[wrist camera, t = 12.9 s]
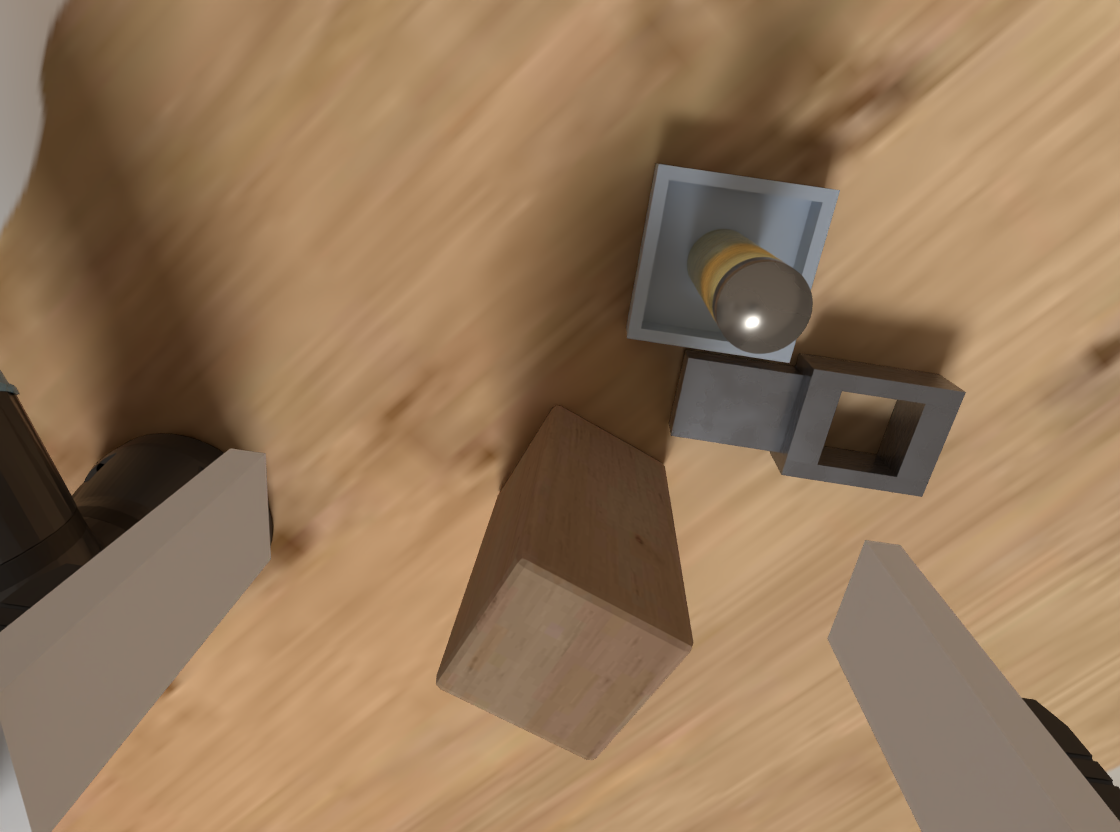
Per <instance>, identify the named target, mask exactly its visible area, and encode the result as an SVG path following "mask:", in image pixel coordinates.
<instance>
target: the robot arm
mask: <svg viewBox="0 0 1120 832" xmlns="http://www.w3.org/2000/svg"><path fill="white" fill-rule="evenodd" d="M18 394H19V392H18V390H17V388H16V387H15V386H14V385H12V384H9V383H8V381H7V380H6V378H5V377H4V375H3V373H2V372H1V370H0V832H51V831H52V830H53V829H54V828H55V826H56V825H57V824H58V823H59V822H60V820H61V819H62V818H63V817H64V815H65V814H66V813H67V812H68V810H69V809H70V808H71V807H72V805H73V804H74V803H75V802H76V800H77V799H78V798H79V797H80V795H81V794H82V793H83V792H84V790H85V789H86V788H87V787H88V785H89V784H90V783H91V782H92V781H93V779H94V778H95V777H96V776H97V774H98V773H99V772H100V771H101V769H102V768H103V767H104V766H105V764H106V763H107V762H108V761H109V759H110V758H111V757H112V756H113V754H114V753H115V752H116V751H117V749H118V748H119V747H120V746H121V745H122V743H123V742H124V741H125V740H126V738H127V737H128V736H129V735H130V733H131V732H132V731H133V730H134V728H135V727H136V726H137V725H138V723H139V722H140V721H141V720H142V718H143V717H144V716H145V715H146V713H147V712H148V711H149V710H150V708H151V707H152V706H153V705H154V704H155V702H156V701H157V700H158V699H159V697H160V696H161V695H162V694H163V692H164V691H165V690H166V689H167V687H168V686H169V685H170V684H171V682H172V681H173V680H174V679H175V677H176V676H177V675H178V674H179V672H180V671H181V670H182V669H183V668H184V666H185V665H186V664H187V663H188V661H189V660H190V659H191V658H192V656H193V655H194V654H195V653H196V651H197V650H198V649H199V648H200V646H201V645H202V644H203V643H204V641H205V640H206V639H207V638H208V636H209V635H210V634H211V633H212V631H213V630H214V629H215V628H216V627H217V625H218V624H219V623H220V622H221V620H222V619H223V618H224V617H225V615H226V614H227V613H228V612H229V610H230V609H231V608H232V607H233V605H234V604H235V603H236V602H237V600H238V599H239V598H240V597H241V595H242V594H243V593H244V592H245V591H246V589H247V588H248V587H249V586H250V584H251V583H252V582H253V581H254V579H255V578H256V577H257V576H258V574H259V573H260V572H261V571H262V569H263V568H264V567H265V566H266V564H267V563H268V562H269V561H270V559H271V553H270V545H271V541H272V520H271V515H270V511H269V508H268V493H267V472H266V453H259V452H252V451H245V450H238V449H231V448H230V449H229V450H228V451H226V452H225V453H223V452H221V451H220V450H218V449H216V448H214V447H212V446H211V445H208V444H206V443H204V442H201V441H199V440H196V439H193V438H190V437H186V436H181V435H175V434H151V435H145V436H141V437H138V438H135V439H133V440H131V441H129V442H127V443H125V444H124V445H122V446H120V447H119V448H117V449H115V450H114V451H112V452H110V453H109V454H107V455H106V456H104V457H103V458H102V459H101V460H100V461H99V462H97V464H96V465H95V466H94V467H93V468H92V470H91V471H90V472H89V474H88V475H87V477H86V479H85V481H84V483H83V484H82V485H81V486H80V487H79V488H78V489H77V490H76V491H75V493H74V494H73V495H72V496H71V494H70V492H69V490H68V488H67V486H66V485H65V483H64V481H63V479H62V477H61V476H60V474H59V472H58V470H57V468H56V466H55V465H54V463H53V461H52V459H51V457H50V455H49V454H48V452H47V450H46V448H45V446H44V444H43V443H42V441H41V439H40V437H39V435H38V434H37V432H36V430H35V428H34V426H33V424H32V423H31V421H30V419H29V417H28V415H27V413H26V412H25V410H24V408H23V406H22V404H21V402H20V401H19V399H18V397H17V395H18ZM828 641H829V643H830V645H831V647H832V649H833V651H834V653H835V655H836V657H837V659H838V661H839V664H840V666H841V668H842V670H843V672H844V674H845V676H846V678H847V680H848V682H849V684H850V686H851V688H852V690H853V692H854V694H855V696H856V698H857V700H858V702H859V704H860V707H861V709H862V711H863V713H864V715H865V717H866V719H867V721H868V723H869V725H870V727H871V729H872V731H873V733H874V735H875V737H876V739H877V741H878V743H879V745H880V747H881V750H882V752H883V754H884V756H885V758H886V760H887V762H888V764H889V766H890V768H891V770H892V772H893V774H894V776H895V778H896V780H897V782H898V784H899V786H900V788H901V791H902V793H903V795H904V797H905V799H906V801H907V803H908V805H909V807H910V809H911V811H912V813H913V815H914V817H915V819H916V821H917V823H918V825H919V827H920V829H921V831H922V832H1120V789H1119V787H1117V786H1114V785H1113V783H1112V781H1113V780H1112V779H1111V778H1110V776H1109V775H1108V774H1107V773H1106V772H1105V770H1104V769H1103V768H1102V767H1101V766H1100V764H1099V763H1098V762H1096V761H1093V760H1092V755H1091V754H1090V752H1089V751H1088V750H1087V749H1086V748H1085V746H1084V745H1083V744H1082V743H1081V742H1080V740H1079V739H1078V738H1077V737H1076V736H1075V735H1074V733H1073V732H1072V731H1071V730H1070V729H1069V727H1068V726H1067V725H1065V724H1064V723H1063V722H1062V721H1060V720H1059V719H1058V718H1057V717H1056V716H1054V715H1053V714H1052V713H1051V712H1049V711H1048V710H1047V709H1046V708H1045V707H1043V706H1042V705H1041V704H1040V703H1038V702H1037V701H1036V700H1033V699H1026V698H1021V697H1020V695H1019V694H1018V693H1017V692H1016V690H1015V689H1014V688H1013V687H1012V685H1011V684H1010V683H1009V681H1008V680H1007V679H1006V678H1005V676H1004V675H1003V674H1002V673H1001V671H1000V670H999V669H998V668H997V666H996V665H995V664H994V663H993V661H992V660H991V659H990V658H989V656H988V655H987V654H986V653H985V651H984V650H983V649H982V648H981V646H980V645H979V644H978V642H977V641H976V640H975V639H974V637H973V636H972V635H971V634H970V632H969V631H968V630H967V629H966V627H965V626H964V625H963V624H962V622H961V621H960V620H959V619H958V617H957V616H956V615H955V614H954V612H953V611H952V610H951V609H950V607H949V606H948V605H947V603H946V602H945V601H944V600H943V598H942V597H941V596H940V595H939V593H938V592H937V591H936V590H935V588H934V587H933V586H932V585H931V583H930V582H929V581H928V580H927V578H926V577H925V576H924V575H923V573H922V572H921V571H920V570H919V568H918V567H917V566H916V564H915V563H914V562H913V561H912V559H911V558H910V557H909V556H908V554H907V553H906V552H905V551H904V549H903V548H902V547H901V546H900V545H896V544H889V543H882V542H875V541H869V540H865V542H864V545H863V547H862V550H861V553H860V555H859V558H858V560H857V563H856V566H855V568H854V571H853V573H852V576H851V579H850V581H849V584H848V586H847V589H846V592H845V594H844V597H843V599H842V602H841V605H840V607H839V610H838V613H837V615H836V618H835V620H834V623H833V626H832V628H831V631H830V633H829V636H828Z"/></svg>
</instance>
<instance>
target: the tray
mask: <svg viewBox="0 0 1120 832" xmlns="http://www.w3.org/2000/svg"><path fill="white" fill-rule="evenodd" d="M839 192H840V190H834V189H827V188H821V187H814V186H807V185H800V184H793V183H787V182H780V181H773V180H766V179H759V178H752V177H745V176H739V175H732V174H725V173H718V172H711V171H704V170H698V169H691V168H684V167H677V166H670V165H663V164H656V165H655V170H654V176H653V181H652V187H651V192H650V198H649V204H648V209H647V215H646V220H645V226H644V231H643V237H642V242H641V248H640V253H639V259H638V265H637V270H636V276H635V281H634V287H633V292H632V298H631V303H630V309H629V314H628V320H627V326H626V331H627V338H629V339H635V340H642V341H649V342H655V343H662V344H668V345H675V346H681V347H688V348H695V349H701V350H708V351H714V352H721V353H727V354H734V355H741V356H747V357H754V358H760V359H767V360H773V361H780V362H787V363H790V359H791V356H792V352H793V349H794V346H795V342H796V340H795V341H794V342H792V343H791V344H790V345H788V346H786V347H785V348H783V349H780V350H778V351H775V352H772V353H766V354H754V353H748V352H745V351H742V350H740V349H738V348H736V347H735V346H733V345H732V344H731V343H730V342H729V341H728V340H727V339H726V338H725V337H724V335H723V334H722V332H721V330H720V329H719V327H718V325H717V323H716V322H715V320H714V318H713V317H712V315H711V313H710V312H709V310H708V308H707V307H706V305H705V303H704V301H703V300H702V298H701V296H700V295H699V293H698V291H697V290H696V288H695V286H694V284H693V283H692V281H691V279H690V277H689V274H688V270H687V260H688V255H689V252H690V250H691V248H692V246H693V245H694V244H695V242H696V241H697V240H698V239H699V238H700V237H702V236H703V235H704V234H706V233H708V232H710V231H713V230H717V229H730V230H734V231H736V232H738V233H740V234H742V235H743V236H745V237H746V238H748V239H749V240H751V241H752V242H754V243H755V244H757V245H758V246H760V247H761V248H763V249H765V250H766V251H768V252H769V253H771V254H772V255H774V256H775V257H777V258H778V259H780V260H781V261H783V262H784V263H786V264H787V265H789V266H791V267H792V268H794V269H795V270H796V271H798V272H799V273H800V274H801V275H802V276H803V277H804V279H805V280H806V281H807V283H808V285H809V287H810V290H811V287H812V284H813V281H814V277H815V274H816V270H817V267H818V264H819V260H820V257H821V253H822V250H823V247H824V243H825V240H826V236H827V233H828V229H829V226H830V223H831V219H832V216H833V212H834V209H835V206H836V202H837V199H838V195H839Z"/></svg>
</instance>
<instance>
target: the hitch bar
mask: <svg viewBox="0 0 1120 832" xmlns="http://www.w3.org/2000/svg"><path fill="white" fill-rule="evenodd" d="M842 391H845V392H852V393H858V394H865V395H871V396H878V397H884V398H891V399H897V402H896V405H895V408H894V410H893V413H892V416H891V419H890V421H889V424H888V427H887V429H886V432H885V435H884V437H883V440H882V443H881V445H880V448H879V451H878V453H877V454H871V453H864V452H858V451H851V450H845V449H838V448H832V447H825V446H824V443H825V440H826V437H827V434H828V431H829V428H830V425H831V422H832V419H833V416H834V413H835V410H836V407H837V404H838V401H839V398H840V395H841V392H842ZM965 393H966V392H965V391H963V390H962V389H960V388H959V387H957V386H956V385H954V384H953V383H951V382H950V381H948V380H947V379H946V378H944V377H943V376H941V375H940V374H933V373H926V372H920V371H913V370H907V369H900V368H893V367H887V366H880V365H874V364H867V363H860V362H854V361H847V360H841V359H834V358H828V357H821V356H814V355H808V354H801V353H799V357H798V360H797V363H796V366H790V365H783V364H776V363H770V362H763V361H757V360H750V359H744V358H737V357H730V356H724V355H717V354H711V353H704V352H698V351H691V350H685V354H684V358H683V363H682V367H681V372H680V376H679V381H678V385H677V390H676V394H675V399H674V403H673V408H672V412H671V417H670V421H669V428H670V433H671V436H677V437H683V438H690V439H696V440H703V441H709V442H716V443H722V444H728V445H735V446H741V447H748V448H754V449H761V450H767V451H770V454H771V456H772V458H773V459H774V461H775V463H776V465H777V467H778V469H779V471H780V473H781V475H786V476H792V477H799V478H805V479H812V480H818V481H824V482H831V483H837V484H844V485H850V486H856V487H863V488H869V489H876V490H882V491H889V492H895V493H901V494H908V495H914V496H921V497H922V496H923V493H924V491H925V489H926V486H927V484H928V481H929V479H930V477H931V474H932V472H933V469H934V467H935V465H936V462H937V460H938V457H939V455H940V453H941V450H942V448H943V445H944V443H945V441H946V438H947V436H948V434H949V431H950V429H951V426H952V424H953V422H954V419H955V417H956V414H957V412H958V410H959V407H960V405H961V402H962V400H963V398H964V395H965Z"/></svg>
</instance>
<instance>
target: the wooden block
mask: <svg viewBox="0 0 1120 832" xmlns="http://www.w3.org/2000/svg"><path fill="white" fill-rule="evenodd" d="M692 645H693V638H692V632H691V626H690V619H689V613H688V607H687V601H686V595H685V588H684V582H683V576H682V570H681V564H680V558H679V551H678V545H677V539H676V533H675V527H674V521H673V514H672V508H671V502H670V496H669V490H668V484H667V477H666V471H665V466H664V465H663V464H662V463H661V462H659V461H657V460H656V459H654V458H652V457H650V456H649V455H647V454H645V453H643V452H641V451H640V450H638V449H636V448H634V447H633V446H631V445H629V444H627V443H625V442H624V441H622V440H620V439H618V438H617V437H615V436H613V435H611V434H609V433H608V432H606V431H604V430H602V429H601V428H599V427H597V426H595V425H593V424H592V423H590V422H588V421H586V420H585V419H583V418H581V417H579V416H578V415H576V414H574V413H572V412H570V411H569V410H567V409H565V408H563V407H562V406H558V405H557V406H555V407H554V408H552V410H551V411H550V413H549V415H548V416H547V418H546V419H545V421H544V423H543V424H542V426H541V427H540V429H539V431H538V432H537V434H536V435H535V437H534V439H533V440H532V442H531V443H530V445H529V447H528V448H527V450H526V452H525V453H524V455H523V456H522V458H521V460H520V461H519V463H518V464H517V466H516V468H515V469H514V471H513V472H512V474H511V476H510V477H509V479H508V480H507V482H506V484H505V485H504V487H503V489H502V490H501V492H500V493H499V495H498V497H497V500H496V503H495V506H494V509H493V512H492V515H491V518H490V520H489V523H488V526H487V529H486V532H485V535H484V538H483V541H482V544H481V547H480V550H479V553H478V556H477V559H476V562H475V564H474V567H473V570H472V573H471V576H470V579H469V582H468V585H467V588H466V591H465V594H464V597H463V600H462V603H461V606H460V609H459V611H458V614H457V617H456V620H455V623H454V626H453V629H452V632H451V635H450V638H449V641H448V644H447V647H446V650H445V653H444V656H443V658H442V661H441V664H440V667H439V670H438V673H437V678H436V685H437V686H438V687H439V688H440V689H441V690H443V691H445V692H448V693H450V694H452V695H454V696H456V697H458V698H460V699H462V700H464V701H466V702H468V703H470V704H472V705H474V706H477V707H479V708H481V709H483V710H485V711H487V712H489V713H491V714H493V715H495V716H497V717H499V718H501V719H503V720H506V721H508V722H510V723H512V724H514V725H516V726H518V727H520V728H522V729H524V730H526V731H528V732H530V733H532V734H534V735H537V736H539V737H541V738H543V739H545V740H547V741H549V742H551V743H553V744H555V745H557V746H559V747H561V748H563V749H566V750H568V751H570V752H572V753H574V754H576V755H578V756H580V757H582V758H584V759H586V760H594V759H596V758H597V756H598V755H599V754H600V753H601V752H602V751H603V750H604V749H605V747H606V746H607V745H608V744H609V743H610V742H611V741H612V740H613V738H614V737H615V736H616V735H617V734H618V733H619V732H620V731H621V729H622V728H623V727H624V726H625V725H626V724H627V723H628V722H629V720H630V719H631V718H632V717H633V716H634V715H635V714H636V713H637V711H638V710H639V709H640V708H641V707H642V706H643V705H644V703H645V702H646V701H647V700H648V699H649V698H650V697H651V696H652V694H653V693H654V692H655V691H656V690H657V689H658V688H659V687H660V685H661V684H662V683H663V682H664V681H665V680H666V679H667V678H668V676H669V675H670V674H671V673H672V672H673V671H674V670H675V669H676V667H677V666H678V665H679V664H680V663H681V662H682V661H683V659H684V658H685V657H686V656H687V655H688V654H689V653H690V651H691V649H692Z"/></svg>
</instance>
